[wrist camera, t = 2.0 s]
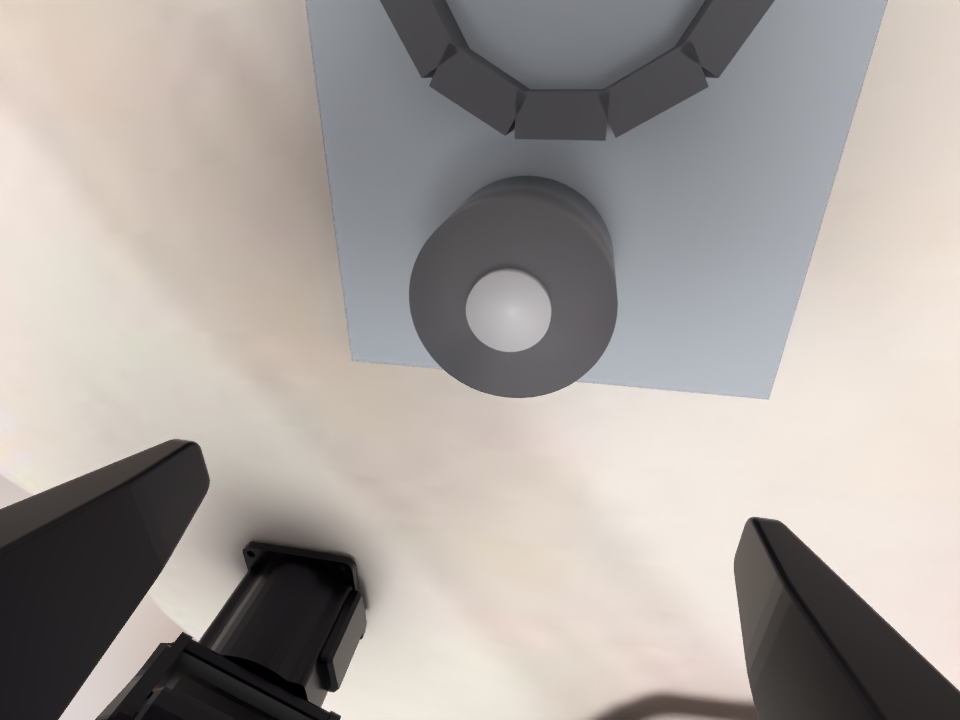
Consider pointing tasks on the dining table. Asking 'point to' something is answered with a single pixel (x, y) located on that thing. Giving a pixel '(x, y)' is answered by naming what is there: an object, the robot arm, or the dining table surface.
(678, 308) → the barrel board
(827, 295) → the dining table surface
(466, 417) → the dining table surface
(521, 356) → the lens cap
